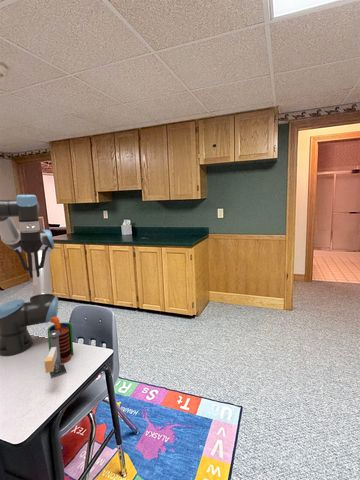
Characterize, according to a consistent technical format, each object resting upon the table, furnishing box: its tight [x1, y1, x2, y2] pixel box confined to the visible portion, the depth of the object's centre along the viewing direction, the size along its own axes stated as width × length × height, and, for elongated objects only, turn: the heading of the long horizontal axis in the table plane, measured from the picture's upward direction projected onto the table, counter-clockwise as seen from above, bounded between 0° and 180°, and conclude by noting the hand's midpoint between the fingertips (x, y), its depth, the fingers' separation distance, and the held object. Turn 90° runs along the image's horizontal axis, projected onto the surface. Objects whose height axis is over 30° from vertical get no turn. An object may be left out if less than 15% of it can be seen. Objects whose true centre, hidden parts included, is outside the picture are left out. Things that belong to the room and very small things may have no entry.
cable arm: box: [44, 347, 57, 374], centre depth 104 cm, size 3×10×5 cm, turn 15°
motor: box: [47, 316, 74, 365], centre depth 120 cm, size 10×9×20 cm
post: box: [47, 330, 68, 379], centre depth 111 cm, size 6×6×18 cm
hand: (35, 284), depth 115 cm, fingers closed
